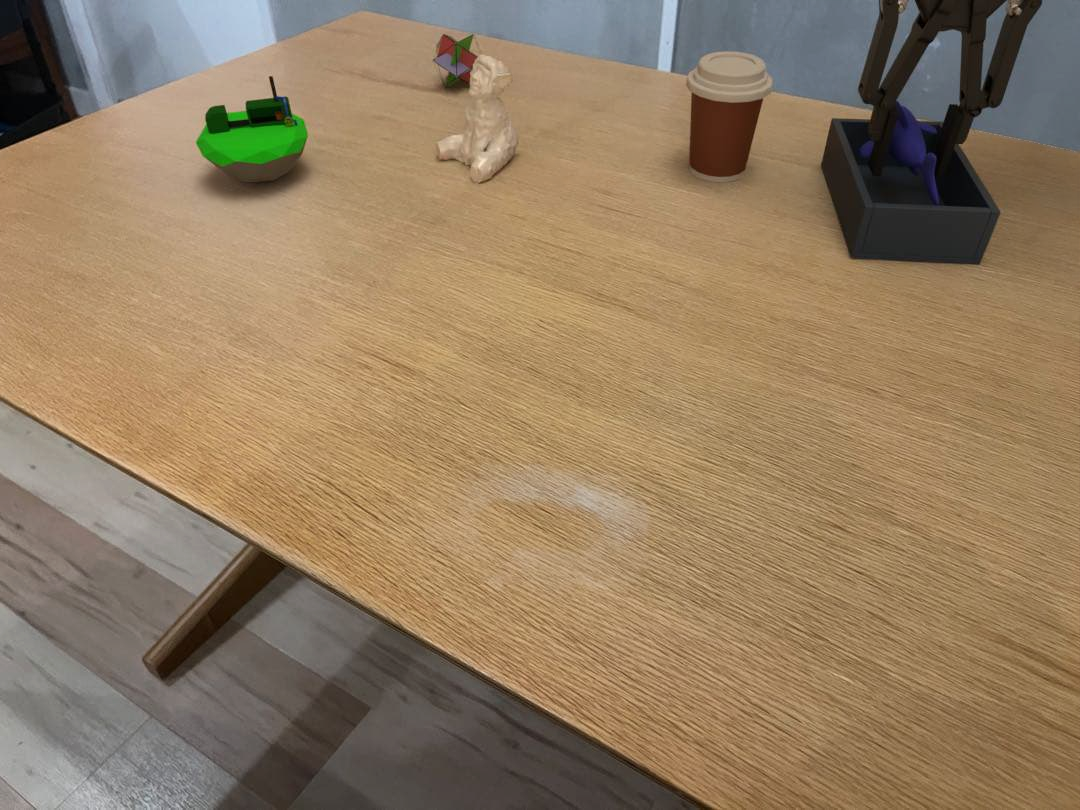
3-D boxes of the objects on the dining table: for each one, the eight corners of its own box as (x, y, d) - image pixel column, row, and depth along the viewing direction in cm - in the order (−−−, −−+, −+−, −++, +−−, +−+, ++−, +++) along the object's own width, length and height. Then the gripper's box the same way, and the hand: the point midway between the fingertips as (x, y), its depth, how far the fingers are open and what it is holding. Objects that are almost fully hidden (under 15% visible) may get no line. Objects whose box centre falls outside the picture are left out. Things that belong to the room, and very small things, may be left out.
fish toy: (853, 153, 90) (845, 96, 86) (925, 128, 89) (920, 69, 84) (898, 222, 79) (891, 161, 75) (981, 196, 78) (979, 131, 73)
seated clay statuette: (431, 156, 97) (421, 52, 89) (490, 137, 101) (485, 35, 93) (478, 185, 92) (471, 77, 84) (538, 163, 96) (537, 58, 88)
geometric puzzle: (505, 67, 113) (473, 12, 110) (477, 83, 108) (443, 27, 106) (473, 91, 118) (442, 39, 116) (444, 107, 114) (412, 54, 111)
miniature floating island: (311, 147, 100) (291, 54, 92) (318, 191, 91) (298, 92, 84) (208, 160, 97) (180, 65, 90) (206, 206, 89) (175, 106, 82)
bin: (929, 169, 94) (944, 121, 90) (979, 264, 79) (1001, 212, 75) (820, 165, 95) (831, 117, 91) (850, 258, 80) (865, 206, 76)
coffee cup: (743, 194, 90) (761, 84, 82) (664, 177, 93) (675, 69, 85) (767, 161, 96) (787, 55, 88) (693, 145, 99) (705, 42, 91)
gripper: (880, -80, 66) (818, 184, 82) (1121, -77, 65) (1010, 192, 80) (863, -100, 72) (807, 151, 87) (1084, -98, 70) (988, 158, 86)
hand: (905, 170), depth 84 cm, fingers closed on fish toy, 5 cm apart
